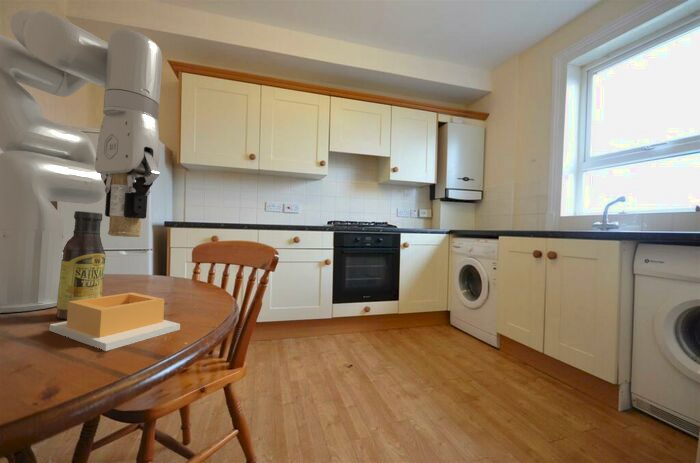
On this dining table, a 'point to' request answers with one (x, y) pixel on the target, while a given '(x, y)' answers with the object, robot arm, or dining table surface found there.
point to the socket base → (115, 320)
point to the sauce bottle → (82, 263)
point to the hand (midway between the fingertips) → (125, 216)
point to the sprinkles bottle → (121, 209)
